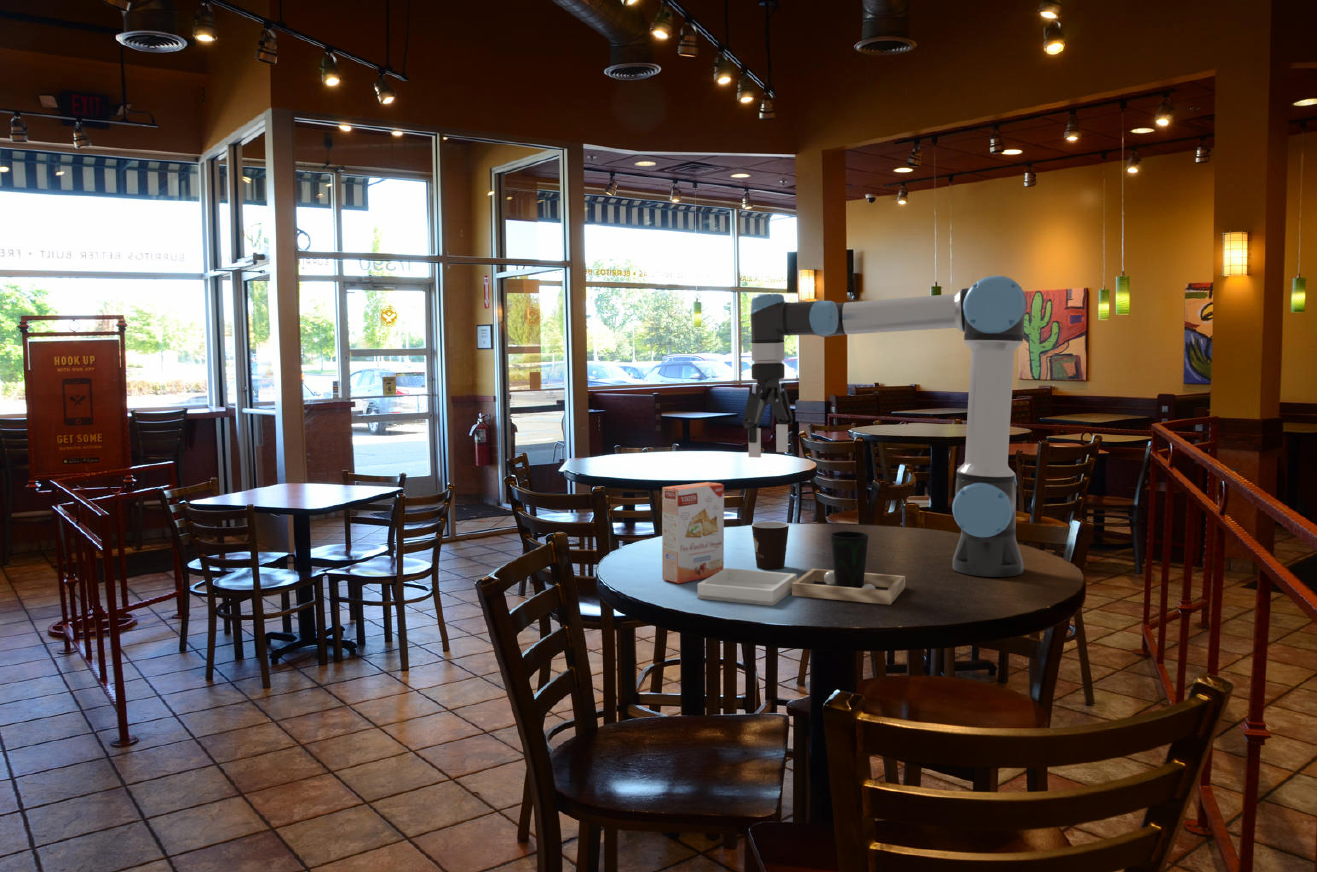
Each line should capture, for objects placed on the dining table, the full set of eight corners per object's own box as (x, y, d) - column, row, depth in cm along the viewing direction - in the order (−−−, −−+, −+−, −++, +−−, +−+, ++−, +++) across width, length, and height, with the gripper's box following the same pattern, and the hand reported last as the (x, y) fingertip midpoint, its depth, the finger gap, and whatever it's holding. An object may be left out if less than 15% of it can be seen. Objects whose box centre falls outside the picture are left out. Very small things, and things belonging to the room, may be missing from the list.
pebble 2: (877, 597, 192) (877, 582, 192) (874, 601, 189) (874, 586, 189) (862, 596, 193) (862, 581, 193) (859, 599, 191) (859, 584, 191)
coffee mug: (787, 571, 217) (787, 528, 216) (750, 570, 219) (749, 527, 218) (791, 561, 228) (790, 519, 228) (755, 560, 230) (754, 519, 229)
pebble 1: (839, 584, 204) (839, 570, 204) (836, 587, 201) (836, 573, 201) (825, 582, 205) (826, 569, 205) (822, 585, 203) (822, 572, 203)
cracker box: (679, 585, 206) (678, 489, 204) (661, 580, 210) (660, 486, 208) (726, 575, 215) (725, 483, 213) (707, 570, 219) (706, 480, 218)
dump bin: (796, 587, 201) (796, 574, 201) (772, 605, 187) (772, 590, 187) (725, 581, 208) (725, 568, 208) (697, 598, 194) (697, 583, 193)
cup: (841, 585, 203) (841, 529, 202) (874, 590, 198) (874, 533, 197) (823, 592, 197) (823, 535, 196) (857, 598, 192) (857, 539, 191)
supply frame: (904, 587, 200) (905, 576, 200) (890, 604, 186) (890, 592, 186) (812, 579, 208) (812, 568, 208) (792, 595, 195) (792, 583, 195)
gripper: (778, 362, 230) (778, 449, 232) (726, 363, 210) (727, 458, 211) (806, 361, 226) (807, 450, 228) (756, 362, 205) (757, 460, 207)
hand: (768, 454), depth 219 cm, fingers open, 13 cm apart
